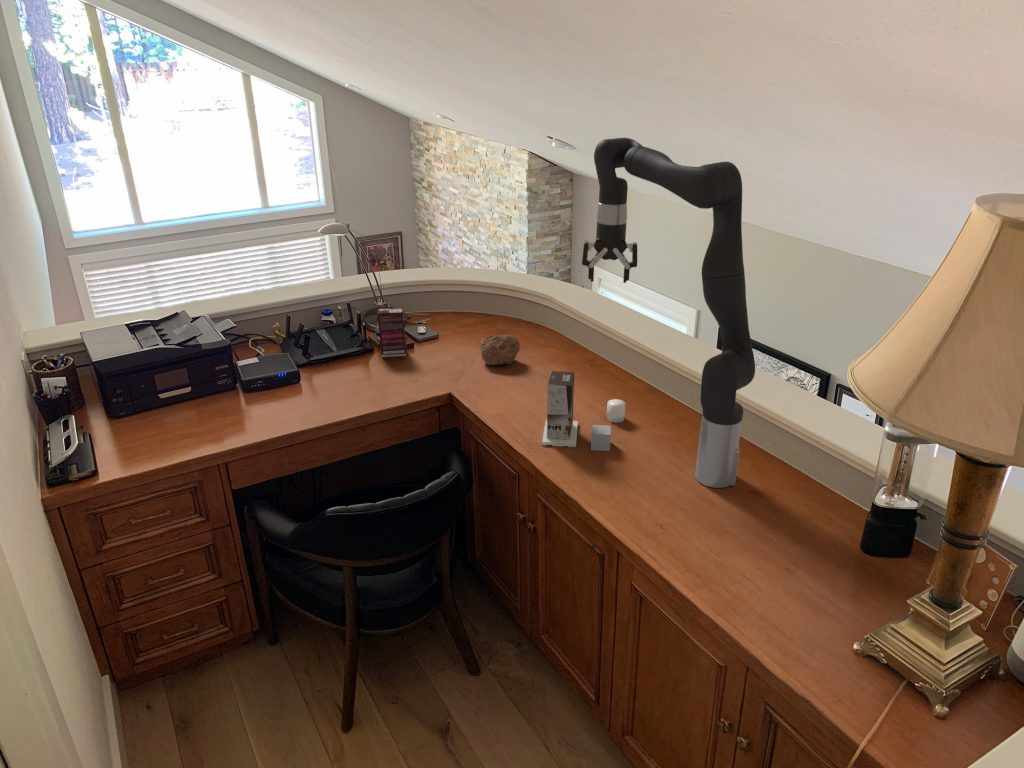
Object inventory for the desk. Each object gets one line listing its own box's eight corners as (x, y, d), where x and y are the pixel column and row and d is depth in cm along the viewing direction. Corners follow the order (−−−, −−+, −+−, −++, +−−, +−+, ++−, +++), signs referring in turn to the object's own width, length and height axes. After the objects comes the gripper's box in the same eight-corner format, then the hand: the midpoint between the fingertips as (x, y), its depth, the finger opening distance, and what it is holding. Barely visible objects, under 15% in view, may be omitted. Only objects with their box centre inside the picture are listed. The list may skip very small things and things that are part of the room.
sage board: (577, 424, 211) (577, 421, 211) (575, 447, 200) (575, 443, 199) (545, 422, 212) (545, 419, 212) (541, 445, 201) (542, 442, 200)
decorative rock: (522, 357, 255) (522, 329, 250) (516, 370, 245) (516, 342, 240) (484, 354, 257) (483, 327, 253) (476, 367, 247) (476, 339, 243)
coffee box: (570, 440, 201) (571, 385, 194) (546, 438, 202) (547, 383, 195) (573, 424, 209) (575, 371, 202) (550, 422, 210) (551, 369, 203)
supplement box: (406, 350, 260) (403, 307, 253) (406, 356, 256) (403, 312, 249) (381, 352, 259) (377, 308, 253) (380, 357, 255) (376, 313, 248)
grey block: (610, 442, 202) (611, 425, 200) (609, 451, 198) (610, 434, 196) (591, 441, 203) (592, 424, 201) (590, 450, 199) (591, 433, 196)
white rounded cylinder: (624, 415, 216) (625, 399, 214) (624, 423, 212) (625, 407, 210) (606, 414, 217) (607, 398, 215) (606, 422, 212) (607, 406, 210)
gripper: (583, 222, 189) (580, 284, 196) (640, 224, 188) (636, 286, 195) (584, 216, 196) (581, 276, 203) (639, 217, 194) (635, 278, 201)
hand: (608, 281), depth 199 cm, fingers open, 8 cm apart
